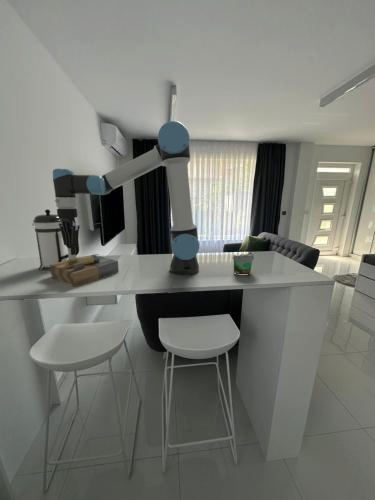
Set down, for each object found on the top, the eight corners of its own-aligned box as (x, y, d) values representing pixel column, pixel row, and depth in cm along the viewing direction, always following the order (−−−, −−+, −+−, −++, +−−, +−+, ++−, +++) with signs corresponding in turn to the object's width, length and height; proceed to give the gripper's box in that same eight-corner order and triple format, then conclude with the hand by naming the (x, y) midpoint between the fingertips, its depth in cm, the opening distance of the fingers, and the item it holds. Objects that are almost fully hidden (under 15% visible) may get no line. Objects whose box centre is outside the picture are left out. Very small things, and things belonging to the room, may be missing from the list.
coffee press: (45, 274, 101) (36, 210, 94) (33, 267, 110) (24, 209, 103) (81, 265, 114) (75, 209, 107) (68, 260, 124) (61, 208, 117)
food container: (240, 278, 101) (242, 258, 98) (231, 274, 106) (232, 255, 103) (257, 273, 107) (259, 254, 105) (248, 270, 112) (249, 252, 110)
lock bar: (97, 260, 103) (97, 253, 102) (101, 261, 101) (100, 255, 100) (64, 266, 93) (63, 259, 92) (67, 268, 90) (66, 261, 89)
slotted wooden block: (118, 272, 105) (117, 255, 103) (75, 286, 87) (72, 267, 85) (94, 265, 116) (93, 249, 114) (51, 276, 98) (49, 258, 96)
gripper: (50, 207, 90) (56, 260, 95) (65, 209, 83) (72, 266, 88) (68, 207, 96) (73, 257, 102) (84, 208, 89) (88, 262, 95)
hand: (72, 261), depth 95 cm, fingers closed
